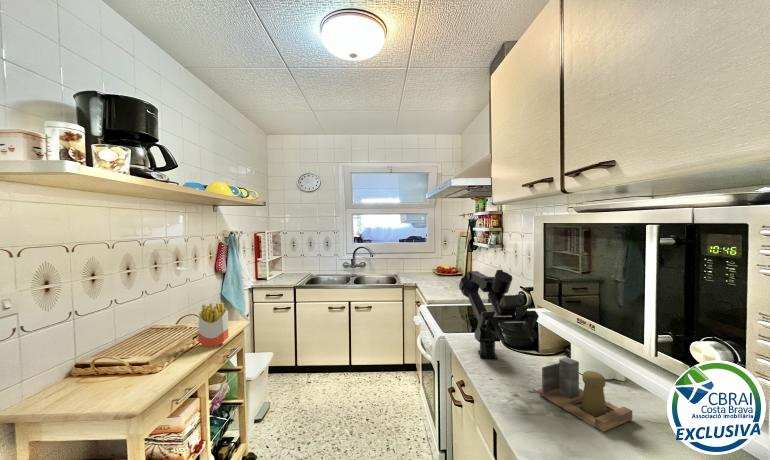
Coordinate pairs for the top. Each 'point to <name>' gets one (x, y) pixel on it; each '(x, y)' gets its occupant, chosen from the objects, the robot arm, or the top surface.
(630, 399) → the top surface
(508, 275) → the robot arm
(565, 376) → the wooden shape sorter tray
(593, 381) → the tan rounded peg
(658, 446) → the top surface
